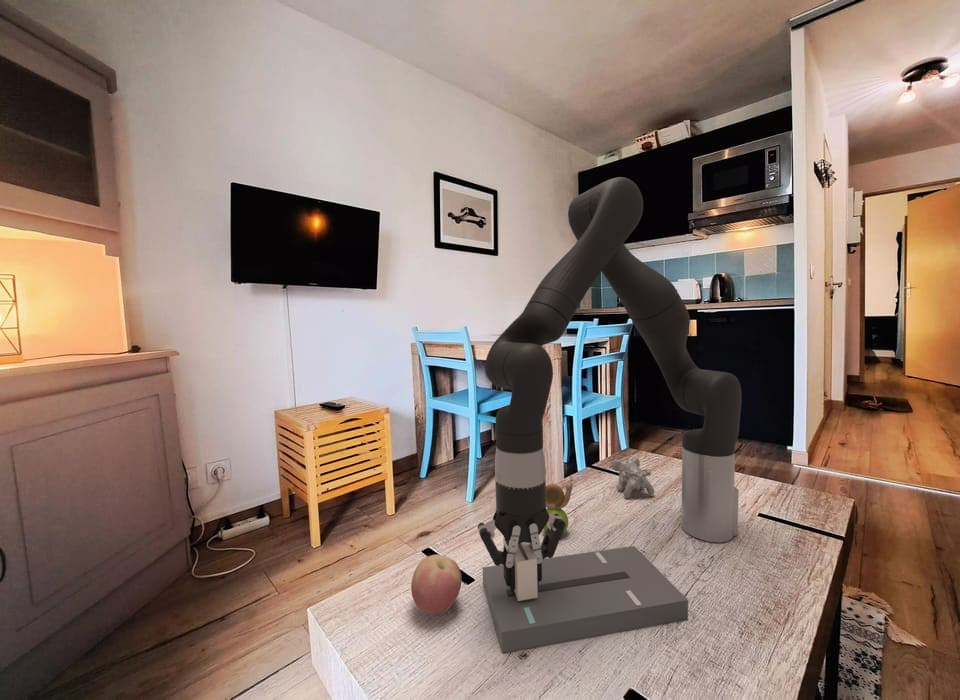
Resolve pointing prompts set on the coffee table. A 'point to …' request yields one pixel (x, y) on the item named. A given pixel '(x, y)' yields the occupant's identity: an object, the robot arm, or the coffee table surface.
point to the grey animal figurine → (632, 476)
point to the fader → (525, 573)
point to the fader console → (583, 599)
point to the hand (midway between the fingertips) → (522, 583)
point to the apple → (436, 584)
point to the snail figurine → (558, 501)
